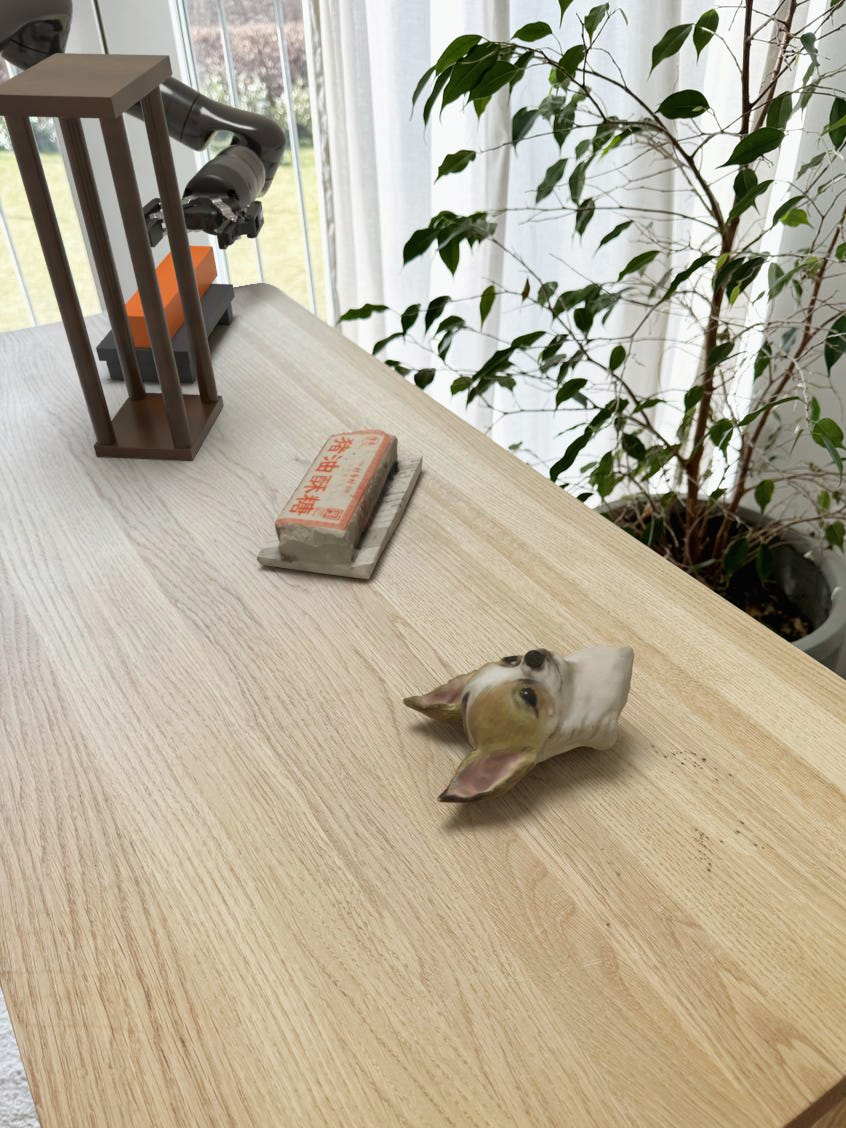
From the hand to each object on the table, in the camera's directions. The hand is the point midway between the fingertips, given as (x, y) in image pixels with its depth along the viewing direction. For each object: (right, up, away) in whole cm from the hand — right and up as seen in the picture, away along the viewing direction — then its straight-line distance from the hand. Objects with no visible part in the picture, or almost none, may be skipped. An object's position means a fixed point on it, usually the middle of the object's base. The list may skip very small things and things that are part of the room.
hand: (184, 240), depth 116 cm
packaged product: (+22, -35, -26) cm, 49 cm away
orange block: (0, -9, -2) cm, 9 cm away
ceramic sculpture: (+37, -54, -47) cm, 81 cm away
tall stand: (+2, -25, -15) cm, 29 cm away
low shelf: (-1, -13, -1) cm, 13 cm away
